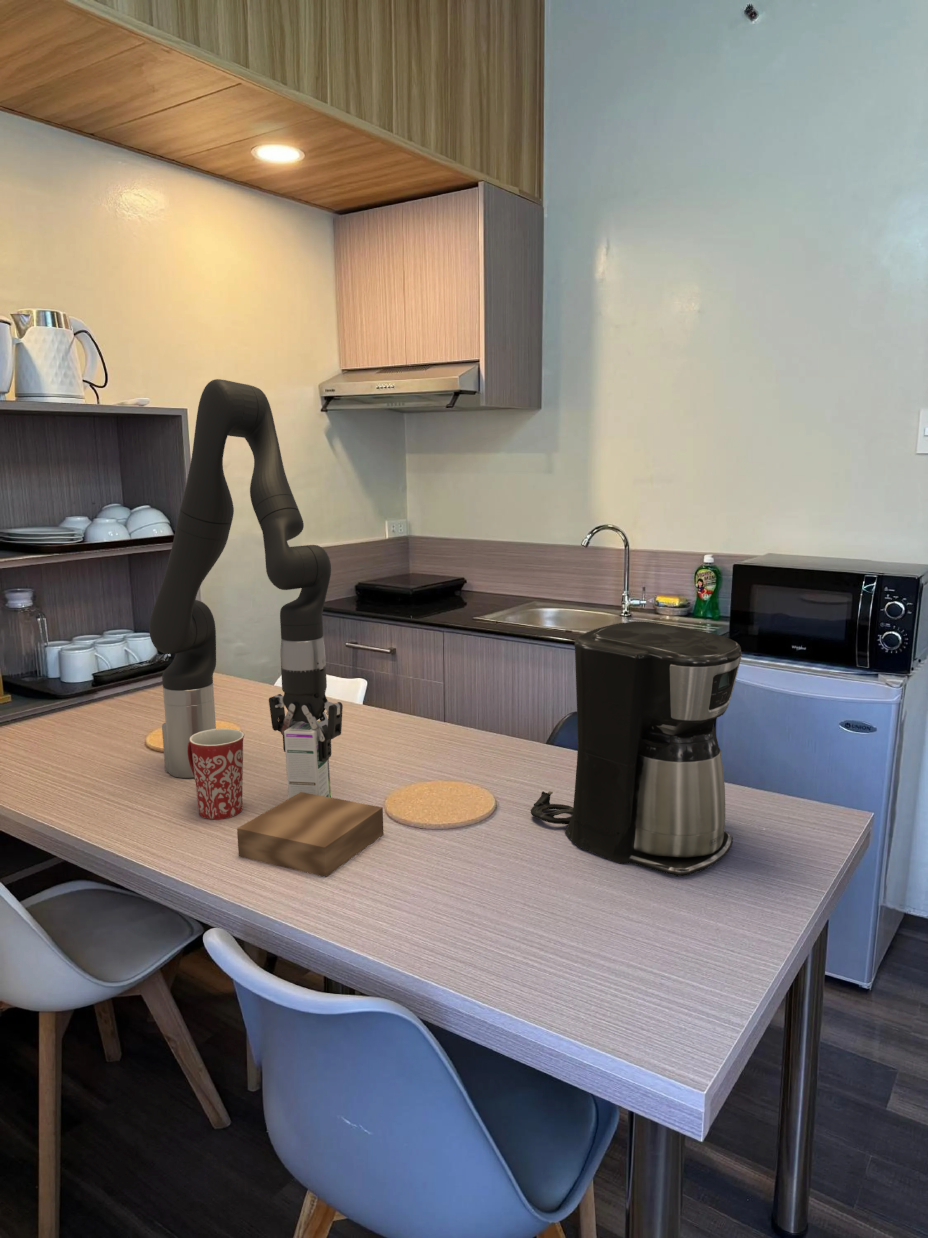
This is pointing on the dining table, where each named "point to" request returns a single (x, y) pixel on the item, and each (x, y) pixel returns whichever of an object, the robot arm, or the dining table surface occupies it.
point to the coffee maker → (650, 746)
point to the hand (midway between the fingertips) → (307, 757)
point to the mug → (217, 771)
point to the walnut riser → (310, 833)
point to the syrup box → (305, 762)
